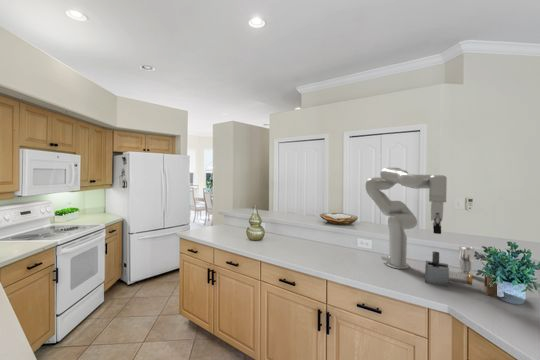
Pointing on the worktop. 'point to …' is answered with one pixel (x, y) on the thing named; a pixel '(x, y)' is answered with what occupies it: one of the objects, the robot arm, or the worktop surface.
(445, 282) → the sleeve
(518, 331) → the worktop surface
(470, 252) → the beer glass
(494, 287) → the socket
